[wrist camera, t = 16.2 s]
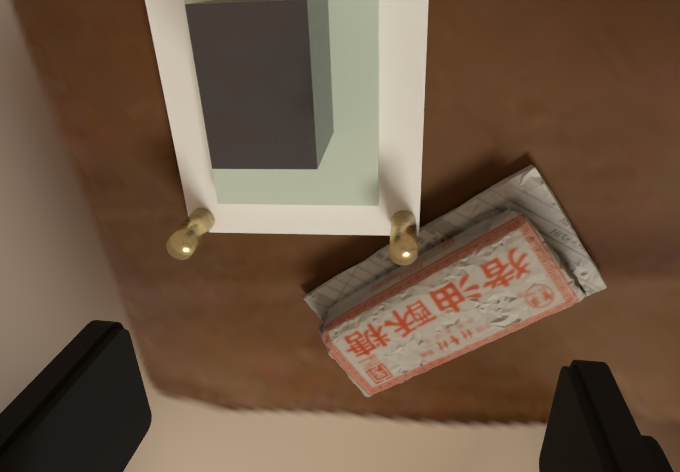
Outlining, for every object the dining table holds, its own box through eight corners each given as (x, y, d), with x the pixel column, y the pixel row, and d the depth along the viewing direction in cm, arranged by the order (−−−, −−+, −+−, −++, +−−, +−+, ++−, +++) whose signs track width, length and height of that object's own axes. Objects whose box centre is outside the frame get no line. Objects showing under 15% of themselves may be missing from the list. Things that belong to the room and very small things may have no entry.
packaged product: (377, 424, 36) (291, 330, 32) (380, 376, 40) (304, 289, 37) (630, 318, 29) (552, 187, 26) (601, 274, 33) (531, 157, 30)
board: (379, -116, 23) (370, -149, 17) (379, 197, 31) (372, 256, 24) (176, -103, 24) (96, -129, 18) (223, 196, 32) (179, 251, 26)
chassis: (434, -182, 23) (442, -222, 18) (418, 227, 33) (420, 268, 28) (124, -158, 25) (61, -188, 20) (197, 224, 34) (166, 262, 30)
